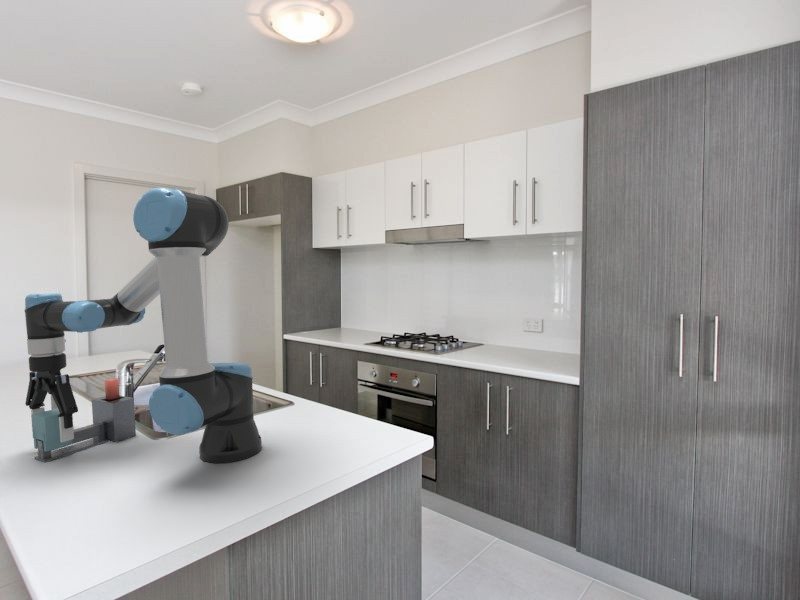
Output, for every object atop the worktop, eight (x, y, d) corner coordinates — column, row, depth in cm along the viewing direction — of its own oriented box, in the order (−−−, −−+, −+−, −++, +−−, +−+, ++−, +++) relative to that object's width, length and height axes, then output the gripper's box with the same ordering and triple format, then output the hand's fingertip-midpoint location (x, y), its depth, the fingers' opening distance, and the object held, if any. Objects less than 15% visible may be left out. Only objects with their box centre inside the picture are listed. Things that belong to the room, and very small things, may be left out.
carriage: (73, 443, 120) (71, 411, 119) (47, 451, 114) (44, 417, 114) (59, 440, 123) (57, 408, 122) (33, 447, 117) (31, 414, 117)
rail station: (135, 435, 133) (133, 397, 132) (50, 464, 113) (47, 420, 113) (115, 430, 137) (112, 394, 137) (29, 457, 118) (26, 415, 117)
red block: (122, 396, 132) (121, 378, 132) (110, 399, 129) (109, 381, 129) (115, 395, 134) (114, 377, 134) (103, 398, 131) (102, 380, 131)
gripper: (91, 354, 115) (96, 438, 116) (38, 349, 126) (44, 425, 127) (57, 360, 108) (63, 449, 109) (5, 353, 119) (11, 434, 121)
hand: (53, 436), depth 118 cm, fingers open, 12 cm apart
